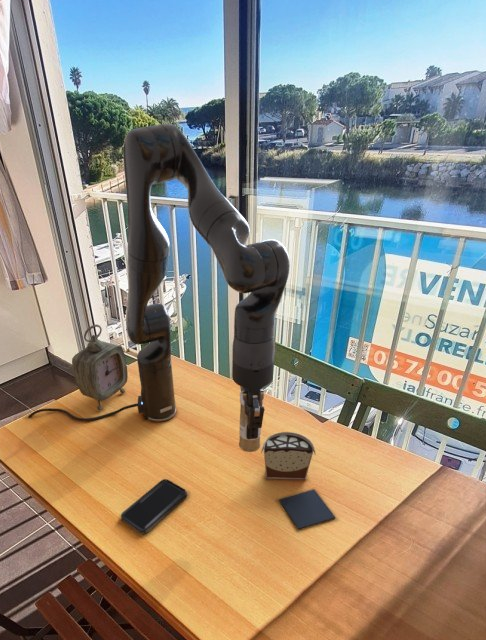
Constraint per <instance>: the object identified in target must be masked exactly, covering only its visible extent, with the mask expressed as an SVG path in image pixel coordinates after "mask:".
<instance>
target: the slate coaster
mask: <svg viewBox="0 0 486 640" xmlns="http://www.w3.org/2000/svg"><path fill="white" fill-rule="evenodd" d="M278 501H279V503H280V505H281V506H282V507H283V509H284V510H285V512H286V514H287V516H289V518H290V519H291V521H292V523H293V524H294V526H295V527H296V529H297V530H302V529H305V528H308V527H312V526H316V525H318V524H322V523H326V522H328V521H331V520H335V519H336V516H335V515H334V513H333V512H332V511H331V509H330V508H329V507H328V505H327V504H326V503H325V501H324V500H323V499H322V498H321V496H320V494H319V493H317V491H316V490H315V489H314V488H313V489H310V490H307V491H303V492H300V493H297V494H293V495H289V496H286V497H283V498H282V497H281V498H280V499H278Z"/></svg>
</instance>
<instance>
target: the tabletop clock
mask: <svg viewBox="0 0 486 640" xmlns="http://www.w3.org/2000/svg"><path fill="white" fill-rule="evenodd" d="M94 328H99V332H98V333H97V335H95V334H92V335H91V339H90V338H89V339H87V335H88V333H89V332H90V331H91V330H92V329H94ZM102 329H103V328H102V326H101V325H99V324H93V325H91V326H90V327H88V328H87V329H86V330H85V331H84V334H83V339H84V341H85V342H87V345H86V347H84V348H82V349H81V350H80V351H78V352H77V353H75V355H74V356H73V357H72V358H71V366H72V373H73V377H74V380H75V385H76V386H77V389H78V390H79V392H80V393H81V394H82V396H85V397H88V398H90V399H94V400H96V401H97V404H98V405H97V407H96V408H97V411H99V412H101V411H102V410H103V408H104V407H103V406H102V405H101V402H104V401H106V400H108V399H109V398H111V397H112V396H114V395H116V394H117V393H118V392H120V393H121V394H125V393H126V389H125V388H123V387H124V386H125V385H126V384H127V383H128V363H127V358H126V355H125V351H124V349H123V347H122V345H118V344H114V343H111V342H107V341H103V340H101V339H98V338H99V337H100V336H101V334H102V331H103V330H102Z"/></svg>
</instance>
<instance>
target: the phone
mask: <svg viewBox="0 0 486 640" xmlns="http://www.w3.org/2000/svg"><path fill="white" fill-rule="evenodd" d="M187 498H188V491H187V490H186V489H185V488H183V487H181V486H179V485H178V484H176V483H174V482H173V481H171V480H170V479H167V478H164V479H161V480H160V481H159V482H157V484H155V485H154V486H153V487H152V488H150V489H149V490H148V491H147V492H146V493H144V494H143V495H141V497H139V498H138V499H137V500H136V501H135V502H133V503H132V504H131V505H130V506H129V507H127V508H126V509H125V510H124V511H122V513H121V515H120V517H121V520H122V522H123V523H125V524H126V525H128V526H129V527H131V528H132V529H134V530H135V531H136V532H138V533H139V534H141V535H146V534H148V533H149V532H150V531H151V530H152V529H153V528H154V527H156V525H158V524H159V523H160V522H162V521H163V520H164V519H165V518H166V517H167V516H168V515H169V514H170V513H171V512H172V511H173V510H174V509H175V508H177V507H178V506H179V505H180V504H181V503H182V502H183V501H184V500H186V499H187Z"/></svg>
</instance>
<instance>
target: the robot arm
mask: <svg viewBox="0 0 486 640" xmlns="http://www.w3.org/2000/svg"><path fill="white" fill-rule="evenodd" d="M122 149H123V151H122V152H123V153H122V154H123V170H124V181H125V192H126V204H127V206H126V207H127V276H128V277H127V279H128V280H127V282H128V285H127V300H126V310H125V329H126V333H127V337H128V338H129V340H130V342H131V343H133V344H134V345H137V346H138V345H141V346H142V345H145V344H147V345H145V346H144V347H143V348H141V349H140V350H139V351H138V353H137V355H136V361H137V368H138V376H139V382H140V383H139V384H140V395H138V396H137V403H133V404H128V405H125V406H123V407H120V408H118V409H117V410H114V411H112V412H111V411H110V412H109V413H105V414H102V415H98V416H93V417H83V418H81V417H77V416H74V415H73V414H71V413H70V412H69V411H67V410H66V409H62V408H48V407H47V408H40V409H36V410H34V411H33V412H31V413H30V414H29V415H28V418H29V419H31V418H32V417H33V416H34V415H36V414H39V413H43V412H60V413H63V414H64V415H67V416H68V417H69V418H71V419H73V420H74V421H80V422H92V421H97V420H101V419H103V418H108V417H110V416H114V415H117V414H119V413H120V412H123V411H125V410H128V409H131V408H136V407H137V412H138V414H143V417H144V418H143V419H144V420H145V421H150V422H154V423H163V422H166V421H170V420H171V419H173V418H174V417H175V416H176V414H177V407H176V397H175V388H174V377H173V365H172V353H173V352H172V350H173V349H172V328H171V327H172V326H171V319H170V314H169V311H168V310H167V307H165V305H163V303H160V302H159V303H153V304H148V303H149V302H150V300H151V298H152V297H153V295H154V294H155V292H156V291H157V290H158V288H159V287H160V285H161V284H162V282H163V281H164V279H165V277H166V276H167V274H168V270H169V265H170V254H171V242H170V241H171V240H170V238H169V235H168V233H167V231H166V230H165V228H164V226H163V225H162V223H161V222H160V220H159V219H158V217H157V216H156V214H155V212H154V210H153V208H152V202H151V191H152V188H153V187H152V186H153V185H157V184H163V183H166V182H171V181H173V180H176V181H178V182H180V183H181V184H182V185H183V186H184V187H185V189H186V191H187V211H188V216H189V219H190V222H191V225H192V226H193V228H194V229H195V230H196V232H197V233H198V234H199V235H200V237H201V238H202V239H203V240H204V242H205V243H206V244H207V245H208V246H209V248H211V249H212V252H213V254H214V256H215V259H216V261H217V263H218V265H219V268H220V270H221V273H222V276H223V278H224V280H225V282H226V284H227V285H228V286H229V287H230V288H231V289H232V290H234V291H236V292H238V293H240V294H248V295H247V296H245V298H243V299H241V300H240V301H239V302H238V303H237V304H236V305H235V308H234V316H233V341H232V351H231V352H232V354H231V357H232V358H231V359H232V364H231V376H232V380H233V382H234V383H235V384H236V385H237V386H239V389H240V392H241V391H242V398H243V400H244V413H245V414H246V424H247V430H246V436H247V439H256V438H258V428H261V429H262V427H263V421H264V416H265V415H264V414H265V410H266V409H265V407H264V405H263V404H262V400H263V401H264V398H265V393H264V389H263V388H265V387H266V386H268V385H270V384H271V383H272V381H273V377H274V367H275V363H274V362H275V353H276V352H275V351H276V344H275V343H276V342H275V331H276V315H277V312H278V308H279V306H280V304H281V300H282V298H283V294H284V292H285V290H286V289H285V288H286V286H287V283H288V279H289V275H290V265H291V264H290V257H289V253H288V251H287V249H286V247H285V246H284V244H283V243H282V242H280V241H279V240H276V239H267V240H266V239H265V240H261V241H259V242H255V243H251V244H246V242H247V241H248V239H249V236H250V226H249V224H248V222H247V220H246V219H245V217H244V216H243V215H242V214H241V213H240V211H238V210H237V208H235V207H234V205H233V204H232V203H231V202H230V201H229V200H228V199H227V198H226V197H225V196H224V194H223V193H222V192H221V191H220V189H219V188H218V187H217V186H216V184H215V183H214V181H213V180H212V178H211V176H210V173H208V171H207V170H206V168H205V165H204V164H203V163H202V160H201V159H200V157H198V154H197V153H196V151H195V149H194V148H193V146H192V145H191V143H190V141H189V140H188V138H187V137H186V136H185V134H184V133H183V132H182V130H181V129H180V128H179V127H177V125H174V124H172V123H160V124H154V125H148V126H141V127H137V128H133V129H130V130H129V131H128V132H127V133H126V135H125V137H124V141H123V148H122ZM245 244H246V245H245ZM247 405H248V407H250V409H247Z"/></svg>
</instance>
